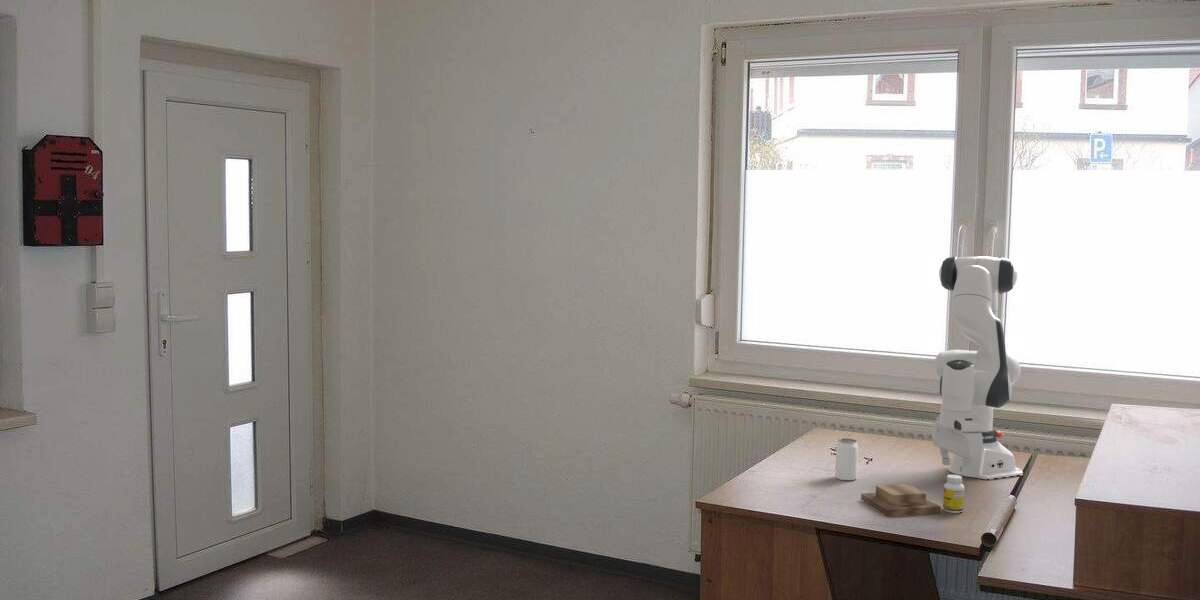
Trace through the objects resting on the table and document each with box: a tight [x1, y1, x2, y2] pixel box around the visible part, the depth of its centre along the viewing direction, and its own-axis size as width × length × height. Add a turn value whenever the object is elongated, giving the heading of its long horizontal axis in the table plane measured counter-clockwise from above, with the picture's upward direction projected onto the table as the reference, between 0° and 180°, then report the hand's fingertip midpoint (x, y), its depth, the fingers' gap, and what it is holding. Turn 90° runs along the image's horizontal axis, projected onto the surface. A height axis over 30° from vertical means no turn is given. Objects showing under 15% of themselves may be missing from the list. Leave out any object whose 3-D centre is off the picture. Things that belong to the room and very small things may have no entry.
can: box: [835, 438, 859, 481], centre depth 323 cm, size 6×6×12 cm
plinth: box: [860, 483, 942, 517], centre depth 293 cm, size 16×16×5 cm
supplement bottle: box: [942, 474, 965, 514], centre depth 290 cm, size 5×5×10 cm
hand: (955, 468), depth 289 cm, fingers open, 8 cm apart
